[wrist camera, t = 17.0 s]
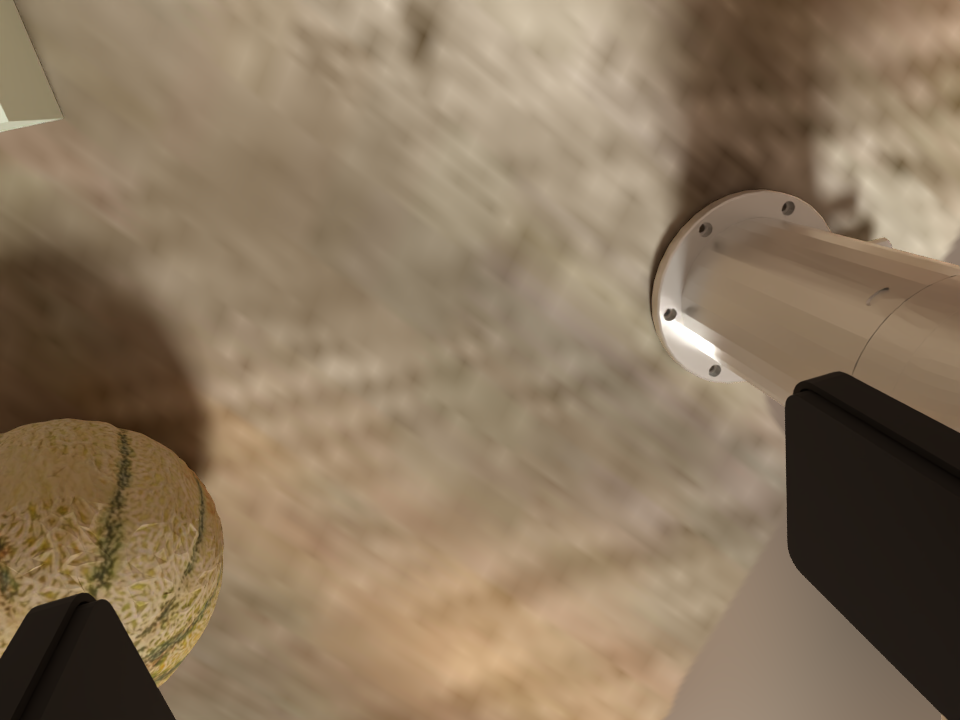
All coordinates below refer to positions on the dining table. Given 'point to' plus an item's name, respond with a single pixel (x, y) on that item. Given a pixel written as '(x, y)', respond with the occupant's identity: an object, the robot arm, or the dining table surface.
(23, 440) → the cantaloupe
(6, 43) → the block
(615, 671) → the dining table surface
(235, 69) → the dining table surface
